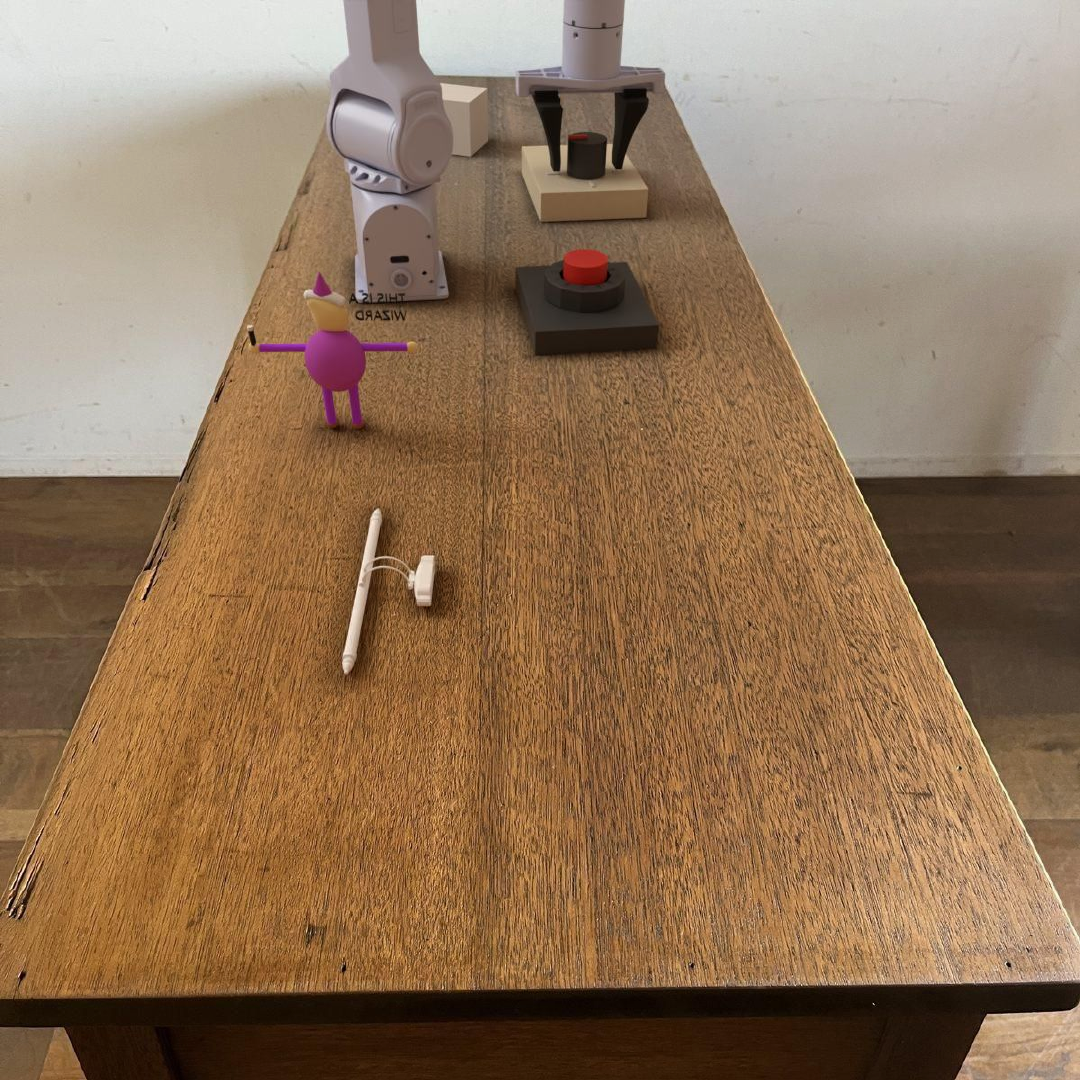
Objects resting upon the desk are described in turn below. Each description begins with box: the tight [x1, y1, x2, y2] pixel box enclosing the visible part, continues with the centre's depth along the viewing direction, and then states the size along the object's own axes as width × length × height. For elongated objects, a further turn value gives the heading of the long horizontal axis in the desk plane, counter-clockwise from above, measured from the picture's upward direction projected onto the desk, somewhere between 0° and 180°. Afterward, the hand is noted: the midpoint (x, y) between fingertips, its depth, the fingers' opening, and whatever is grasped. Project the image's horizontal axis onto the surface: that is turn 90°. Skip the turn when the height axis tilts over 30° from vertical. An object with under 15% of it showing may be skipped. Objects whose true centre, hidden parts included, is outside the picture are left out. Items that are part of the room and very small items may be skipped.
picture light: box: [341, 508, 436, 675], centre depth 56 cm, size 14×4×2 cm, turn 0°
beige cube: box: [439, 82, 489, 158], centre depth 115 cm, size 6×6×6 cm
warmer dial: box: [567, 131, 608, 179], centre depth 101 cm, size 4×4×4 cm
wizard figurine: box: [246, 271, 419, 430], centre depth 66 cm, size 11×3×12 cm, turn 92°
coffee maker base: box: [514, 259, 660, 356], centre depth 82 cm, size 12×10×4 cm
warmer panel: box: [521, 143, 649, 223], centre depth 104 cm, size 14×11×3 cm
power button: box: [563, 248, 609, 286], centre depth 81 cm, size 4×4×2 cm
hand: (586, 167), depth 102 cm, fingers open, 6 cm apart
